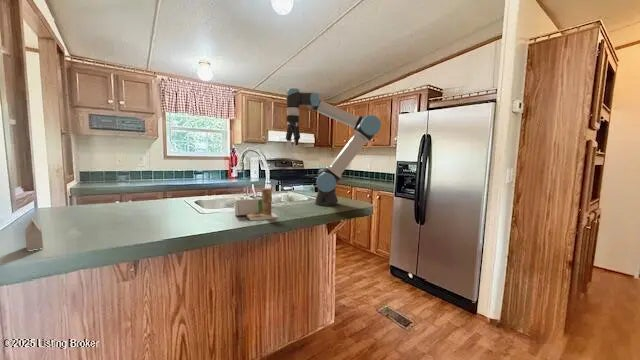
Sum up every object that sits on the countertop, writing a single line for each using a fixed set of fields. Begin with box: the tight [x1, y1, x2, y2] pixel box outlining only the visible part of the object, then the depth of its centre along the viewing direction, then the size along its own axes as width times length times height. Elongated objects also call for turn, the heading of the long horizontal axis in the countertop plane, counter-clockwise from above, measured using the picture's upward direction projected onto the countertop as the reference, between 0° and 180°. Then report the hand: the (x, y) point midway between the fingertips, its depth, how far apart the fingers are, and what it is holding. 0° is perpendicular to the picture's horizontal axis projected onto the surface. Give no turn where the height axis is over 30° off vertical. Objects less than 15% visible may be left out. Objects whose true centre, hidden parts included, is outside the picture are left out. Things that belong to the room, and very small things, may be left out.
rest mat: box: [248, 212, 279, 222], centre depth 142 cm, size 14×9×1 cm, turn 114°
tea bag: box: [24, 217, 44, 251], centre depth 93 cm, size 4×7×10 cm, turn 48°
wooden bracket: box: [245, 187, 272, 219], centre depth 141 cm, size 12×6×14 cm, turn 113°
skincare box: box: [234, 198, 262, 216], centre depth 147 cm, size 8×7×16 cm
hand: (292, 151), depth 167 cm, fingers open, 13 cm apart
